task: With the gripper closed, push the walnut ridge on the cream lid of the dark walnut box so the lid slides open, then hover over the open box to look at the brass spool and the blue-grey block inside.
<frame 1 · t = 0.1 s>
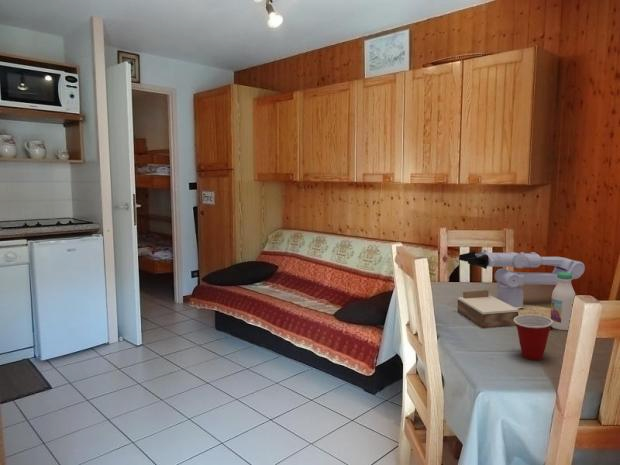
hand: (463, 259, 181), 22 cm above the table, tool horizontal, fingers open, 7 cm apart
plastic cup: (531, 357, 138), on the table
lid: (486, 301, 173), point 7 cm above the table, slide at 0.0 cm
storage box: (486, 318, 174), on the table
milk bottle: (562, 327, 162), on the table
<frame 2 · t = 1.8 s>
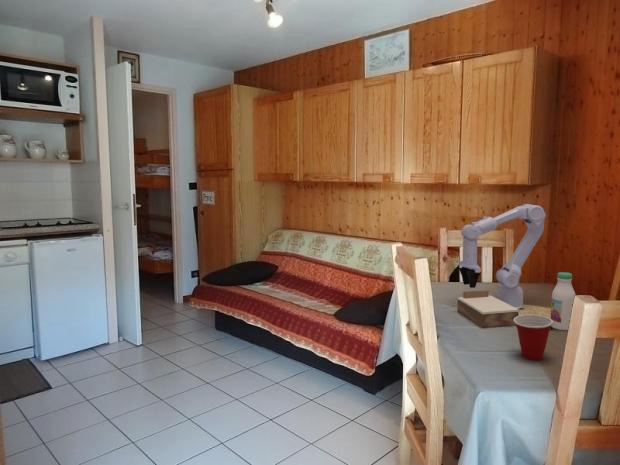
hand: (469, 285, 186), 9 cm above the table, tool pointing down, fingers open, 5 cm apart
nothing on the table moved.
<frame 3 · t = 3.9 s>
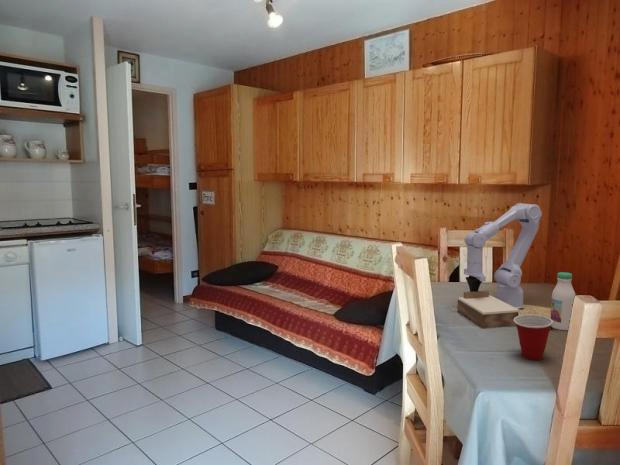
hand: (473, 294, 183), 7 cm above the table, tool pointing down, fingers closed
lid: (487, 301, 173), point 7 cm above the table, slide at 0.4 cm, touching gripper
everything else where it was.
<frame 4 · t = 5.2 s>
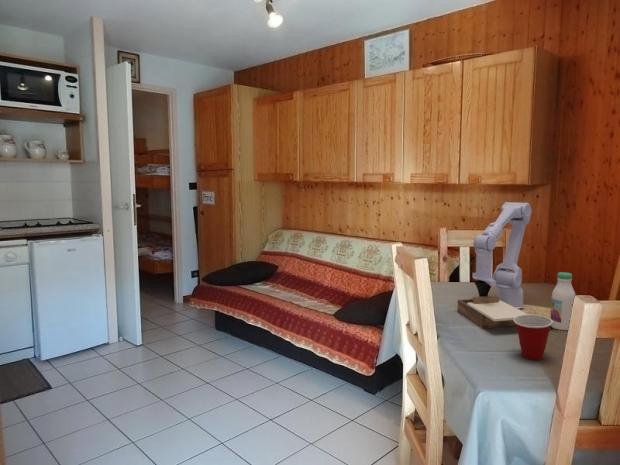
hand: (483, 299, 176), 7 cm above the table, tool pointing down, fingers closed
lid: (497, 307, 165), point 7 cm above the table, slide at 7.9 cm, touching gripper
everything else where it was.
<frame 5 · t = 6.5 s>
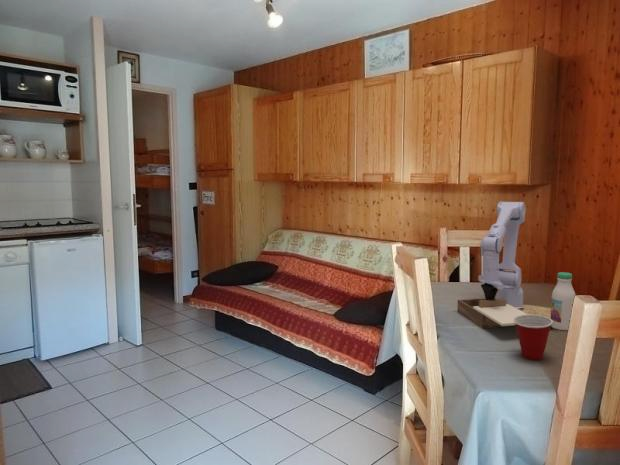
hand: (489, 303, 171), 7 cm above the table, tool pointing down, fingers closed
lid: (505, 311, 160), point 7 cm above the table, slide at 12.8 cm, touching gripper
everything else where it was.
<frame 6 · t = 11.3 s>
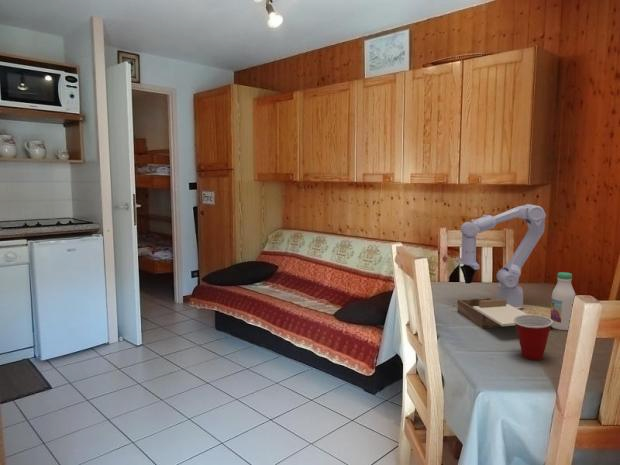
hand: (468, 283, 187), 10 cm above the table, tool pointing down, fingers closed
lid: (505, 311, 160), point 7 cm above the table, slide at 12.9 cm
everything else where it was.
at the end: lid slide at 12.9 cm; milk bottle moved 0.2 cm from its start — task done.
